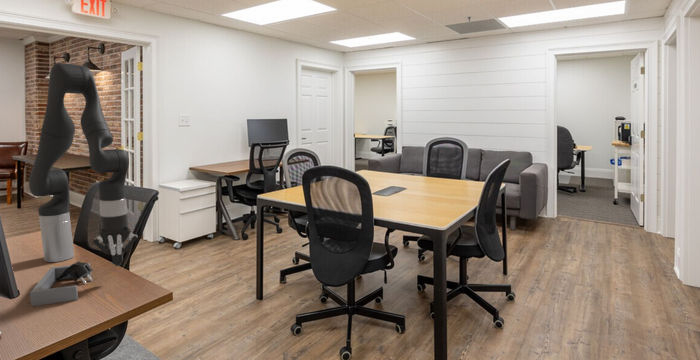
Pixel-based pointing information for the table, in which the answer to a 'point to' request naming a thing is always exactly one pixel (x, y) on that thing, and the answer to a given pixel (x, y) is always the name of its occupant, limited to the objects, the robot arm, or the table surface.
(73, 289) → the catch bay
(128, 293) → the table surface
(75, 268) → the power plug
